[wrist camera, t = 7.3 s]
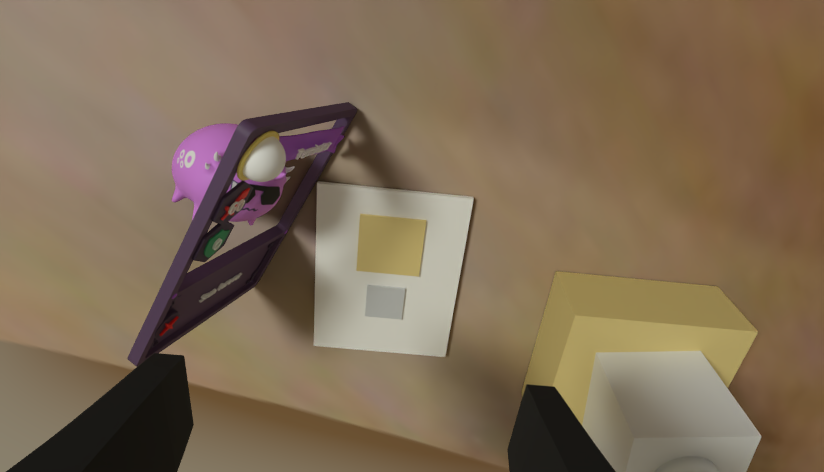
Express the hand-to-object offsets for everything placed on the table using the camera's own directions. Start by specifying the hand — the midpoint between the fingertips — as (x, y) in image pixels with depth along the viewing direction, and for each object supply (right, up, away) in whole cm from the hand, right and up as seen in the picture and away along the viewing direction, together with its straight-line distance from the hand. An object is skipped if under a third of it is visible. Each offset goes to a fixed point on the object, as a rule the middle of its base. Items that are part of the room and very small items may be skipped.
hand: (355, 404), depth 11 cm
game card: (-5, +6, +9) cm, 12 cm away
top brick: (+10, -3, +10) cm, 15 cm away
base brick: (+10, -1, +12) cm, 16 cm away
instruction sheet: (0, +2, +11) cm, 11 cm away
